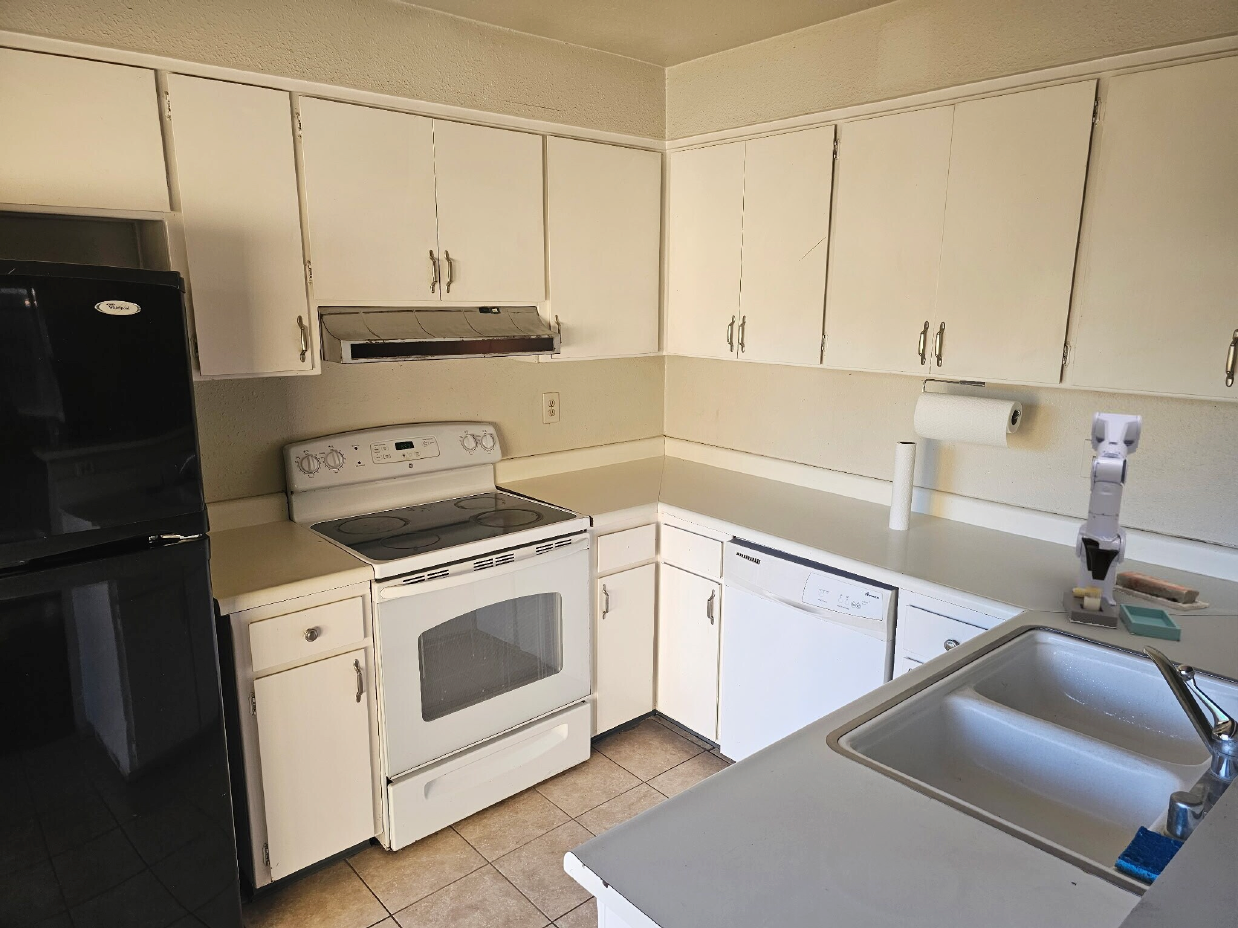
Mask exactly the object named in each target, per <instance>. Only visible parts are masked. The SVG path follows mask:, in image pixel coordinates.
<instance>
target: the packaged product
mask: <svg viewBox="0 0 1238 928" xmlns="http://www.w3.org/2000/svg"><path fill="white" fill-rule="evenodd" d="M1115 577H1116V578H1115V579H1116V580H1115V583H1114V587H1113V589H1115V590H1119V591H1121V592H1124V593H1126V594H1125V595H1127V594H1129V595H1128V596H1130V595H1132V596H1131V597H1134V598H1138V599H1140V600H1144V601H1147V602H1150V603H1154V604H1156V605H1161V606H1164V607H1166V608H1170V609H1174V610H1177V611H1180V612H1186V610H1188V611H1193V610H1194V609H1195V610H1200V609H1206V608H1205V607H1208V608H1210V605H1211V603H1208V602H1203V601H1201V600H1197V597H1198V596H1199V595H1200V592H1199V591H1198V590H1196V589H1194V588H1191V587H1188V586H1184V585H1181V584H1177V583H1173V582H1170V581H1166V580H1163V579H1159V578H1157V577H1153V576H1149V575H1146V574H1143V573H1142V574H1141V573H1139V572H1136V571H1128V572H1127V571H1125V572H1119V573H1117V574H1116V576H1115ZM1121 592H1120V593H1121ZM1124 593H1123V594H1124Z"/></svg>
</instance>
